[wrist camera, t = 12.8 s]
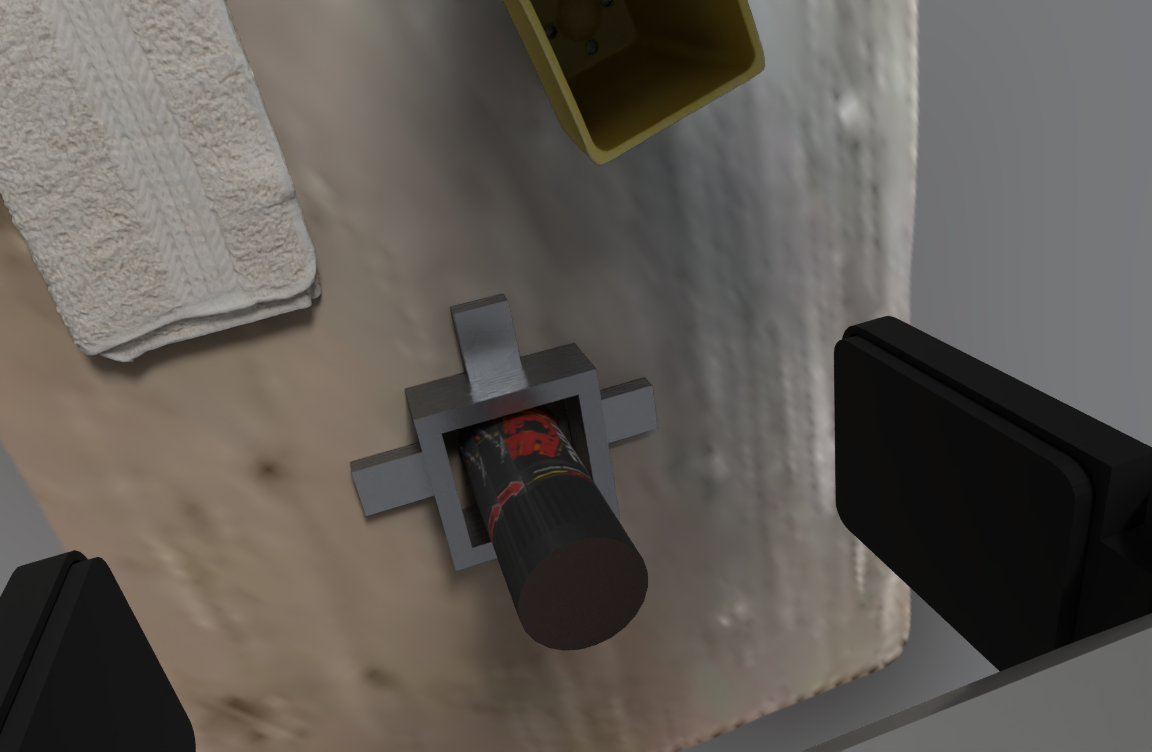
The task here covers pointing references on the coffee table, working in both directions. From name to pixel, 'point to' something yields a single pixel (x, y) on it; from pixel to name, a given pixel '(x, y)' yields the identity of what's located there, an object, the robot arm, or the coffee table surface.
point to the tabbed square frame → (489, 393)
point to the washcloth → (146, 172)
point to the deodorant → (552, 531)
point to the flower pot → (635, 63)
